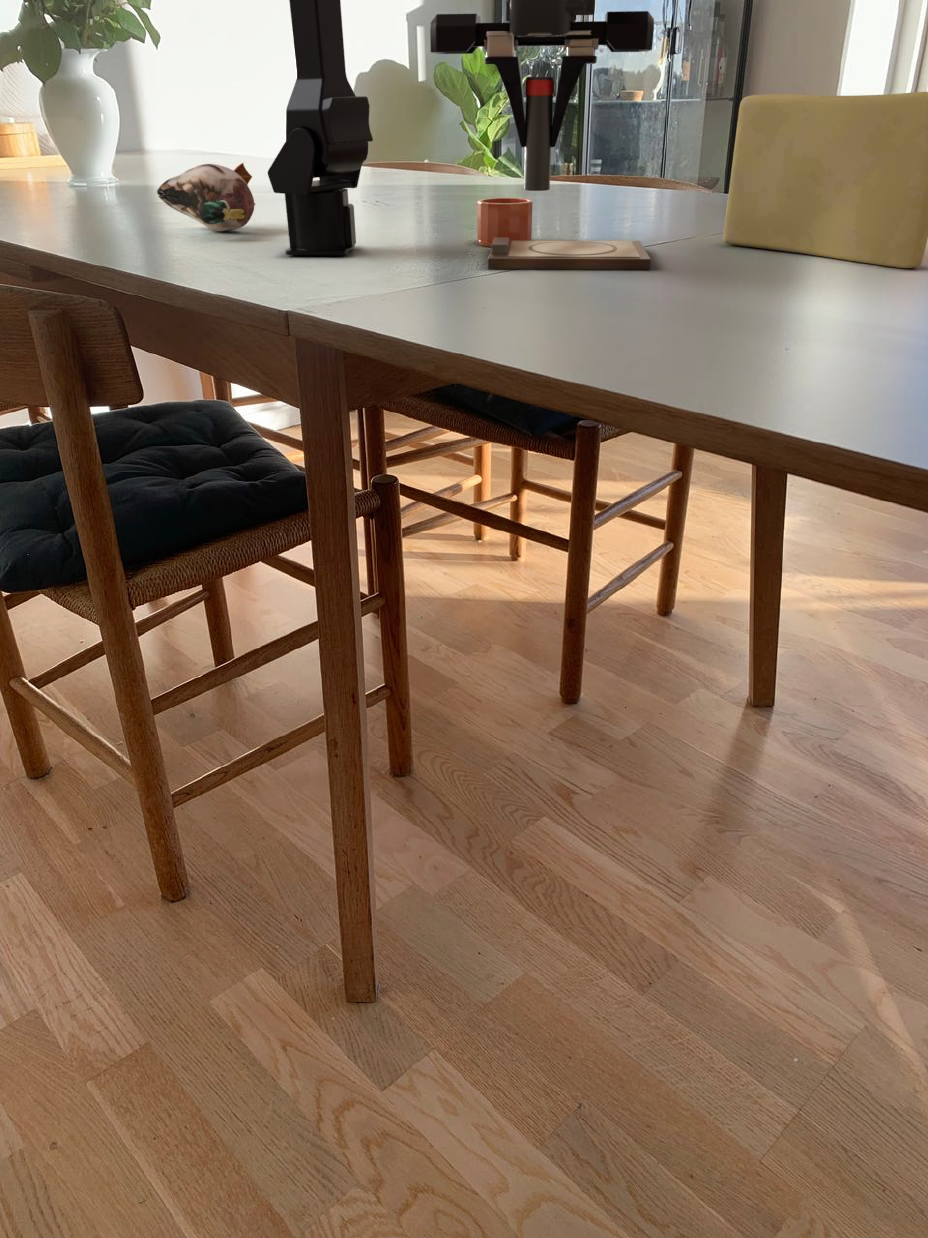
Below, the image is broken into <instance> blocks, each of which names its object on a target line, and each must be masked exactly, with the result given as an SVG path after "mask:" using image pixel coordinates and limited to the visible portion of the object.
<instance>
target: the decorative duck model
mask: <svg viewBox="0 0 928 1238" xmlns="http://www.w3.org/2000/svg"><path fill="white" fill-rule="evenodd" d="M244 163H245V162H241V163H239V164H238V165H237V166H236V167H235V168H234V170H233V169H231V168H229V167H226V166H224V165H220V164H216V163H205V164H200V165H196V166H194V167H192V168H189V169H187V170H186V171H184V172H182V173H180V174H179V175H176V176H175V175H174V176H173V177H170V178H169V179H167V180H165V181H164V182H163V183H162V184H160V186H159V187H158V188H157V190H156V193H157V197H158V198H159V199H160V200H161V201H162V202H163V203H164V204H166V205H167V206H169V207H170V208H172V209H173V210H175V211H177V212H178V213H181V214H183V215H185V216H187V217H188V218H191V219H192V220H195V221H197V222H198V223H200V224H201V225H203V226H204V227H206V228H208V229H210V230H212V231H215V232H230V231H235V230H238V229H241V228H243V227H244V226H246V225H247V224H248V223H249V221H250V220H251V219H252V216H253V214H254V211H255V206H256V203H255V199H254V195H253V193H252V191H251V189H250V187H249V183H250V181H251V179H252V178H253V176H252V174H250V173H249V171H248V170H247V169H246V167H245V165H244Z"/></svg>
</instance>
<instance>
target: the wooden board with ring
mask: <svg viewBox="0 0 928 1238" xmlns="http://www.w3.org/2000/svg"><path fill="white" fill-rule="evenodd" d="M490 248H491V249H490V250H489V251H490V252H489V255H488V258H487V269H488V270H592V271H593V270H594V271H595V270H598V271H599V270H600V271H601V270H602V271H603V270H605V271H606V270H608V271H609V270H610V271H611V270H612V271H613V270H616V271H617V270H619V271H627V270H628V271H629V270H630V271H633V270H634V271H636V270H637V271H650V270H651V265H652V263H651V262H652V259H651V257H650V255H649V254H648V252H647V250H646V248H645V247H644V245H643V244H642V242H641V241H640V240H531V241H509V237H495V238H494V240H493V243H492V247H490Z"/></svg>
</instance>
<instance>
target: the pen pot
mask: <svg viewBox="0 0 928 1238" xmlns="http://www.w3.org/2000/svg"><path fill="white" fill-rule="evenodd" d="M533 202H534V201H533V199H529V198H521V197H490V198H481V199H478V200H477V212H476V213H477V215H476V216H477V228H476V229H477V230H476V231H477V238H476V239H477V244H478V245H479V246H482V247H488V248H489V247H490V248H492V243H493V240H494V238H495V237H509V241H532V236H533V235H532V233H533Z"/></svg>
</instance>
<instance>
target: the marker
mask: <svg viewBox="0 0 928 1238" xmlns="http://www.w3.org/2000/svg"><path fill="white" fill-rule="evenodd" d="M524 91H525V125H526V142H525V147H524V158H523V159H524V161H523V162H524V163H523V165H524V166H523V190H524V191H528V192H529V191H530V192H544V191H549V190H550V188H551V165H552V164H551V163H552V147H551V128H552V122H553V112H554V109H553V108H554V106H553V105H554V94H555V77H554V76H526V78H525V90H524Z"/></svg>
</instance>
